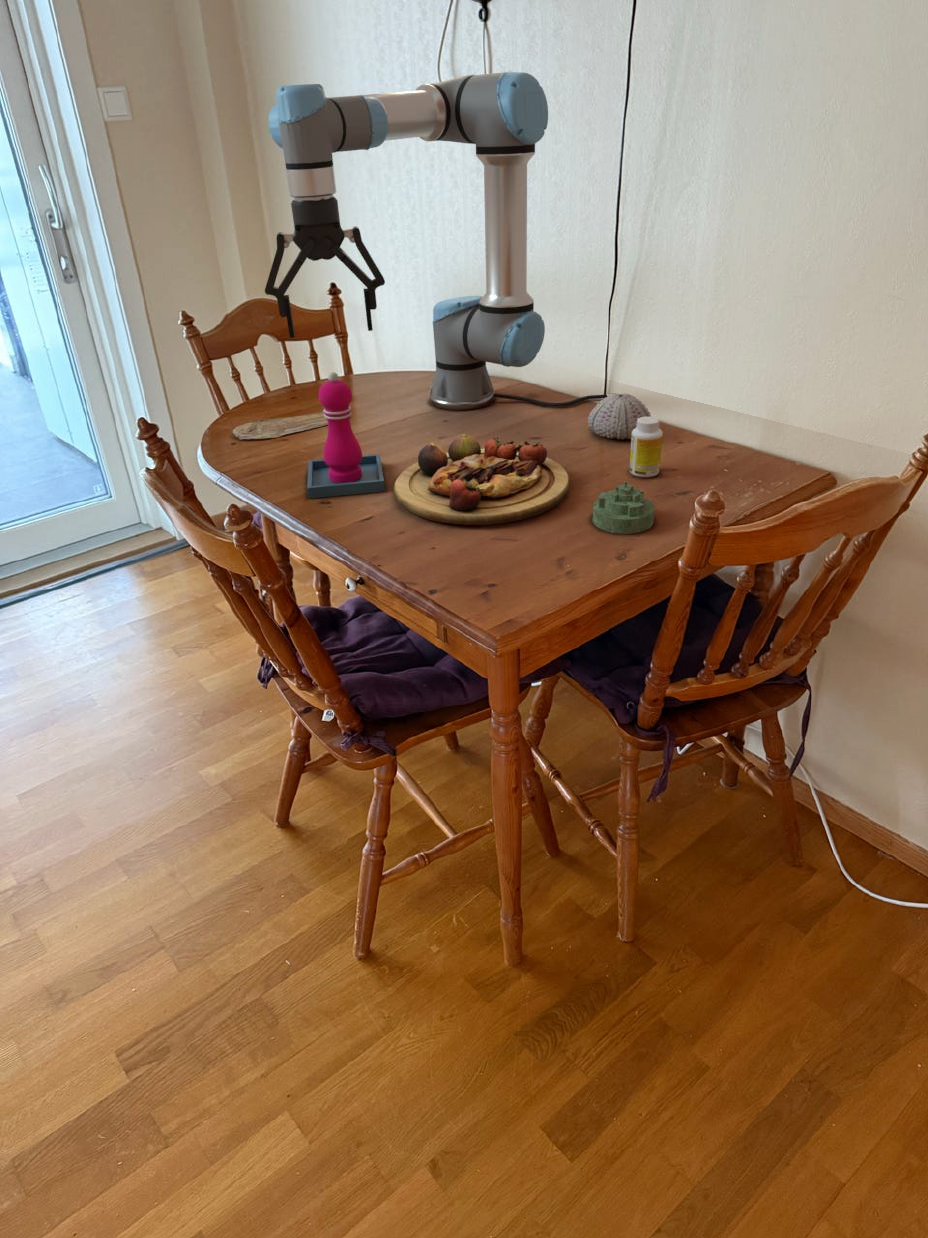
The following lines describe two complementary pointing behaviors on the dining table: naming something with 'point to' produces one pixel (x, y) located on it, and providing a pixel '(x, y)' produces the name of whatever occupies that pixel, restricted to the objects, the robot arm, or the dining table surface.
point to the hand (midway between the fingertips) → (331, 332)
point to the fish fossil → (279, 426)
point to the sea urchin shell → (617, 416)
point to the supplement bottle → (646, 447)
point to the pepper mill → (340, 432)
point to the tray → (324, 487)
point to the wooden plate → (481, 482)
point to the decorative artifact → (623, 511)
